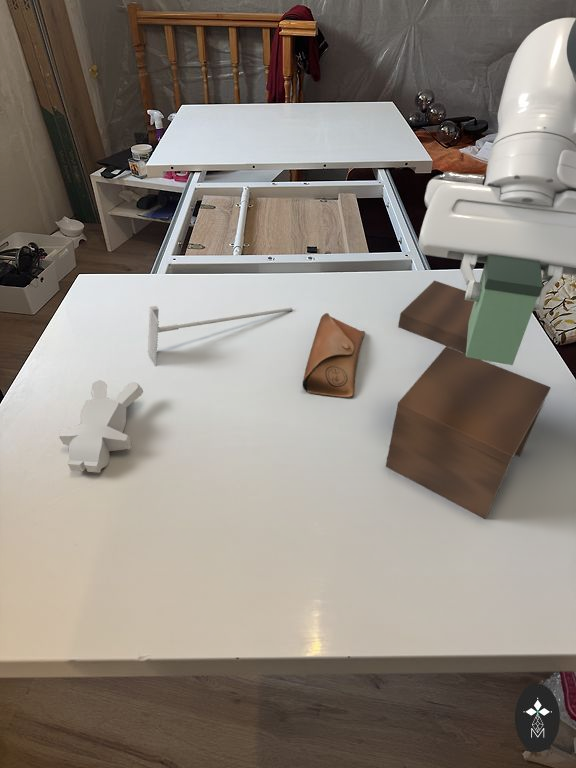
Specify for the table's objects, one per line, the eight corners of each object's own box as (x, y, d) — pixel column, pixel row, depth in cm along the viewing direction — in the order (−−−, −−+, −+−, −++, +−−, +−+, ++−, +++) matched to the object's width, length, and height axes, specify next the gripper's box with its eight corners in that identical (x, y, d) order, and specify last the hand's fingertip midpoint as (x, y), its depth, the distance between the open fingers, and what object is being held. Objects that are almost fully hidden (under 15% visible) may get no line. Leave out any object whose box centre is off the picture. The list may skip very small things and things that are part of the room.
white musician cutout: (42, 455, 68) (82, 370, 78) (55, 476, 72) (92, 393, 82) (114, 460, 68) (145, 374, 78) (123, 481, 71) (152, 396, 81)
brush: (294, 339, 101) (306, 299, 95) (154, 366, 88) (157, 321, 82) (285, 327, 104) (295, 287, 97) (147, 351, 90) (148, 306, 84)
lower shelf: (501, 317, 99) (505, 304, 97) (471, 355, 90) (475, 341, 88) (431, 293, 105) (434, 280, 103) (397, 326, 96) (400, 313, 94)
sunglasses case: (356, 397, 82) (337, 366, 78) (316, 409, 85) (296, 379, 81) (366, 329, 95) (350, 300, 91) (331, 342, 98) (314, 314, 95)
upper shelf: (522, 450, 74) (551, 387, 66) (485, 519, 66) (512, 455, 58) (430, 408, 81) (446, 345, 73) (385, 466, 72) (397, 402, 64)
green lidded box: (467, 321, 64) (488, 245, 58) (512, 329, 63) (539, 252, 56) (464, 357, 59) (487, 278, 52) (513, 366, 58) (543, 286, 51)
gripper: (431, 156, 57) (406, 282, 56) (643, 177, 52) (617, 314, 52) (428, 182, 63) (405, 296, 62) (617, 203, 58) (593, 326, 58)
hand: (503, 304), depth 57 cm, fingers closed on green lidded box, 5 cm apart
